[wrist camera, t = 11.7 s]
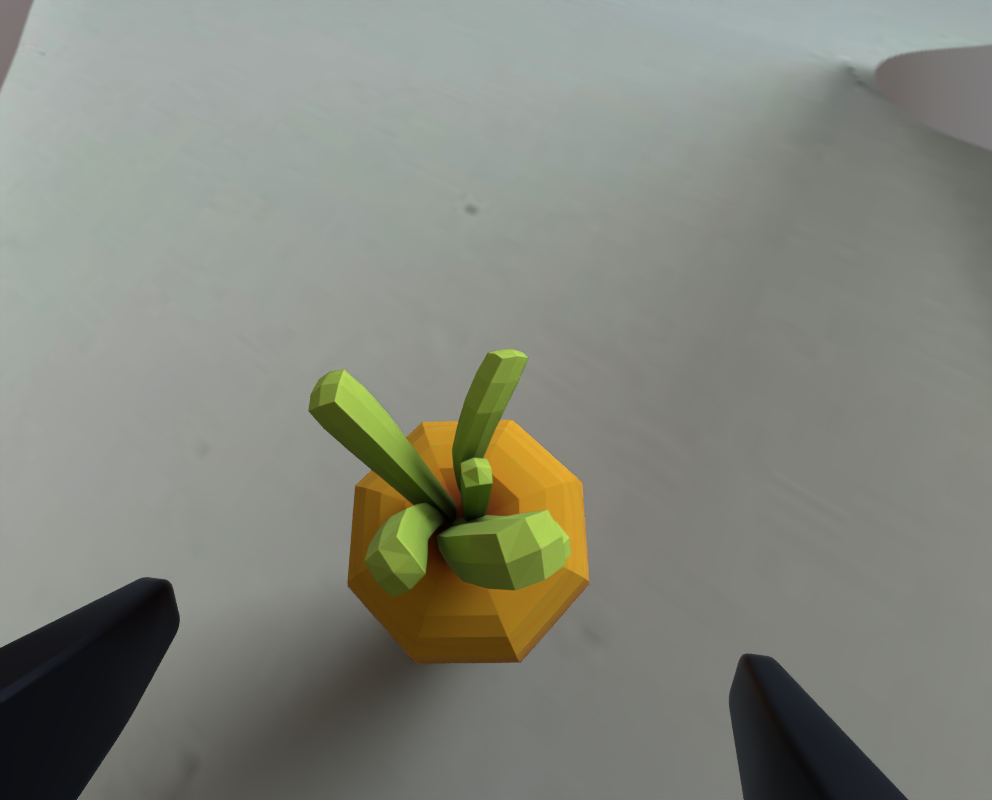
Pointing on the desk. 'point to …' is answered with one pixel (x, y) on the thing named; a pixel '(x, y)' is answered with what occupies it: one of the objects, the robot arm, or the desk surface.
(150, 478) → the desk surface
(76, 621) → the robot arm
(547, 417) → the desk surface
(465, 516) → the carrot
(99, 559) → the desk surface
